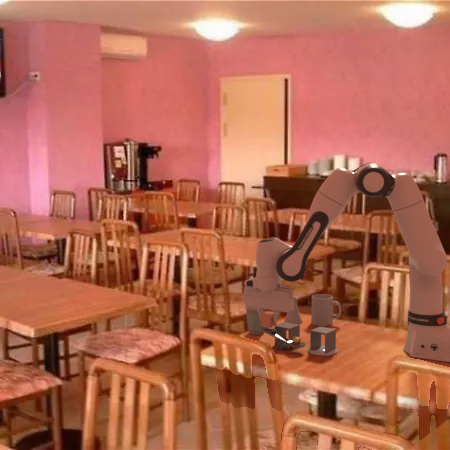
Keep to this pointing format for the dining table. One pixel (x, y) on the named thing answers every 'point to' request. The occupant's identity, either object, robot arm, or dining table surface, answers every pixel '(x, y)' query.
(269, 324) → the block
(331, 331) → the hood
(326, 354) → the saucer
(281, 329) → the hood
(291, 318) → the flask
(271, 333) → the balance
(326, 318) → the mug
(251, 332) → the coffee cup
